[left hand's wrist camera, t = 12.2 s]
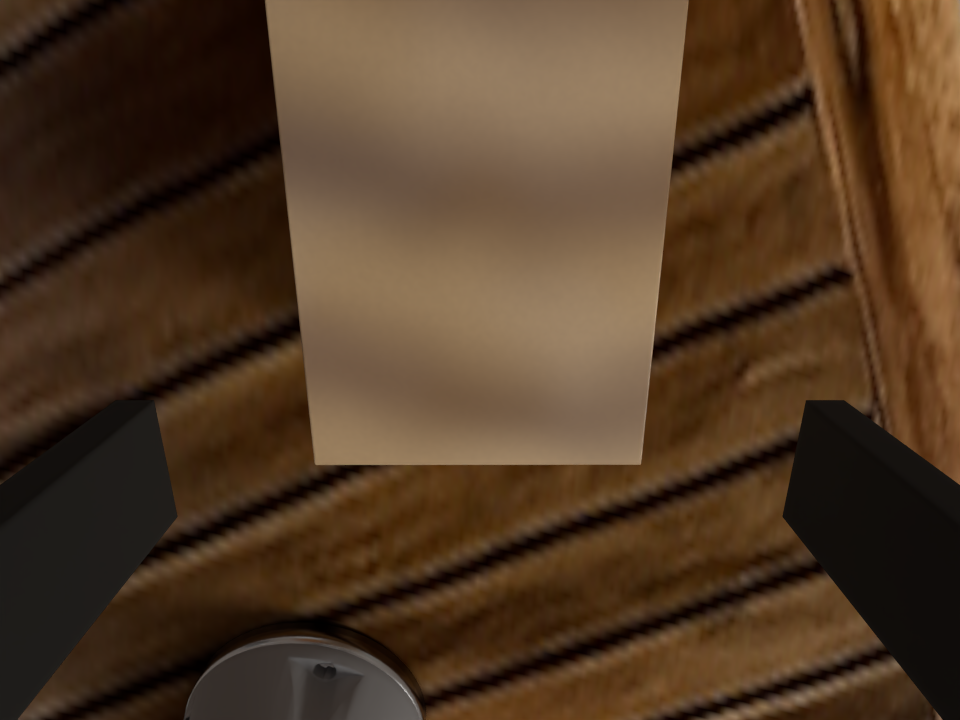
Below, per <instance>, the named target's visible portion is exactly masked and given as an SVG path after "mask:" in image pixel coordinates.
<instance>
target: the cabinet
mask: <svg viewBox="0 0 960 720" xmlns="http://www.w3.org/2000/svg"><path fill="white" fill-rule="evenodd" d="M688 1H689V0H265V6H266V16H267V25H268V34H269V43H270V53H271V62H272V71H273V81H274V90H275V99H276V109H277V118H278V127H279V136H280V146H281V155H282V164H283V174H284V183H285V192H286V201H287V211H288V220H289V229H290V239H291V248H292V257H293V266H294V276H295V285H296V294H297V304H298V313H299V322H300V331H301V341H302V350H303V359H304V369H305V378H306V387H307V396H308V406H309V415H310V424H311V434H312V443H313V452H314V461H315V465H640V464H641V459H642V450H643V440H644V430H645V420H646V411H647V401H648V391H649V381H650V372H651V362H652V352H653V342H654V333H655V323H656V313H657V303H658V294H659V284H660V274H661V264H662V255H663V245H664V235H665V225H666V216H667V206H668V196H669V186H670V177H671V167H672V157H673V147H674V138H675V128H676V118H677V108H678V99H679V89H680V79H681V69H682V60H683V50H684V40H685V30H686V21H687V11H688Z"/></svg>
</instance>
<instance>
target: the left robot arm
mask: <svg viewBox="0 0 960 720" xmlns="http://www.w3.org/2000/svg"><path fill="white" fill-rule="evenodd" d="M176 518H177V512H176V507H175V502H174V497H173V492H172V487H171V482H170V477H169V472H168V467H167V463H166V458H165V453H164V448H163V443H162V438H161V433H160V428H159V423H158V418H157V413H156V408H155V403H154V400H116V401H114V402H113V403H112V404H110V405H109V406H107V407H106V408H105V409H103V410H102V411H101V412H99V413H98V414H97V415H95V416H94V417H92V418H91V419H90V420H88V421H87V422H86V423H84V424H83V425H82V426H80V427H79V428H77V429H76V430H75V431H73V432H72V433H71V434H69V435H68V436H67V437H65V438H64V439H62V440H61V441H60V442H58V443H57V444H56V445H54V446H53V447H52V448H50V449H49V450H47V451H46V452H45V453H43V454H42V455H41V456H39V457H38V458H36V459H35V460H34V461H32V462H31V463H30V464H28V465H27V466H26V467H24V468H23V469H21V470H20V471H19V472H17V473H16V474H15V475H13V476H12V477H11V478H9V479H8V480H6V481H5V482H4V483H2V484H1V485H0V720H18V718H19V717H20V715H21V714H22V713H23V712H24V710H25V709H26V708H27V707H28V705H29V704H30V703H31V701H32V700H33V699H34V698H35V696H36V695H37V694H38V693H39V691H40V690H41V689H42V688H43V686H44V685H45V684H46V682H47V681H48V680H49V679H50V677H51V676H52V675H53V674H54V672H55V671H56V670H57V669H58V667H59V666H60V665H61V663H62V662H63V661H64V660H65V658H66V657H67V656H68V655H69V653H70V652H71V651H72V650H73V648H74V647H75V646H76V644H77V643H78V642H79V641H80V639H81V638H82V637H83V636H84V634H85V633H86V632H87V631H88V629H89V628H90V627H91V625H92V624H93V623H94V622H95V620H96V619H97V618H98V617H99V615H100V614H101V613H102V612H103V610H104V609H105V608H106V606H107V605H108V604H109V603H110V601H111V600H112V599H113V598H114V596H115V595H116V594H117V593H118V591H119V590H120V589H121V587H122V586H123V585H124V584H125V582H126V581H127V580H128V579H129V577H130V576H131V575H132V574H133V572H134V571H135V570H136V569H137V567H138V566H139V565H140V563H141V562H142V561H143V560H144V558H145V557H146V556H147V555H148V553H149V552H150V551H151V550H152V548H153V547H154V546H155V544H156V543H157V542H158V541H159V539H160V538H161V537H162V536H163V534H164V533H165V532H166V531H167V529H168V528H169V527H170V525H171V524H172V523H173V522H174V520H175V519H176ZM783 518H784V519H785V520H786V522H787V523H788V524H789V525H790V527H791V528H792V529H793V531H794V532H795V533H796V534H797V536H798V537H799V538H800V539H801V541H802V542H803V543H804V544H805V546H806V547H807V548H808V550H809V551H810V552H811V553H812V555H813V556H814V557H815V558H816V560H817V561H818V562H819V563H820V565H821V566H822V567H823V569H824V570H825V571H826V572H827V574H828V575H829V576H830V577H831V579H832V580H833V581H834V582H835V584H836V585H837V586H838V587H839V589H840V590H841V591H842V593H843V594H844V595H845V596H846V598H847V599H848V600H849V601H850V603H851V604H852V605H853V606H854V608H855V609H856V610H857V612H858V613H859V614H860V615H861V617H862V618H863V619H864V620H865V622H866V623H867V624H868V625H869V627H870V628H871V629H872V631H873V632H874V633H875V634H876V636H877V637H878V638H879V639H880V641H881V642H882V643H883V644H884V646H885V647H886V648H887V650H888V651H889V652H890V653H891V655H892V656H893V657H894V658H895V660H896V661H897V662H898V663H899V665H900V666H901V667H902V669H903V670H904V671H905V672H906V674H907V675H908V676H909V677H910V679H911V680H912V681H913V682H914V684H915V685H916V686H917V688H918V689H919V690H920V691H921V693H922V694H923V695H924V696H925V698H926V699H927V700H928V701H929V703H930V704H931V705H932V707H933V708H934V709H935V710H936V712H937V713H938V714H939V715H940V717H941V718H942V719H943V720H960V485H959V484H958V483H956V482H955V481H954V480H952V479H951V478H949V477H948V476H947V475H945V474H944V473H943V472H941V471H940V470H939V469H937V468H936V467H934V466H933V465H932V464H930V463H929V462H928V461H926V460H925V459H924V458H922V457H921V456H919V455H918V454H917V453H915V452H914V451H913V450H911V449H910V448H908V447H907V446H906V445H904V444H903V443H902V442H900V441H899V440H898V439H896V438H895V437H893V436H892V435H891V434H889V433H888V432H887V431H885V430H884V429H883V428H881V427H880V426H878V425H877V424H876V423H874V422H873V421H872V420H870V419H869V418H868V417H866V416H865V415H863V414H862V413H861V412H859V411H858V410H857V409H855V408H854V407H853V406H851V405H850V404H848V403H847V402H846V401H844V400H806V403H805V408H804V413H803V418H802V423H801V428H800V433H799V438H798V443H797V448H796V453H795V458H794V463H793V467H792V472H791V477H790V482H789V487H788V492H787V497H786V502H785V507H784V512H783ZM184 720H426V707H425V702H424V697H423V694H422V691H421V689H420V687H419V685H418V683H417V681H416V679H415V678H414V676H413V675H412V673H411V672H410V670H409V669H408V668H407V667H406V666H405V664H404V663H403V662H402V661H401V660H400V659H399V658H398V657H396V656H395V655H394V654H393V653H392V652H390V651H389V650H387V649H386V648H385V647H383V646H382V645H380V644H378V643H377V642H375V641H373V640H371V639H369V638H367V637H365V636H363V635H361V634H358V633H355V632H353V631H350V630H347V629H343V628H340V627H336V626H331V625H326V624H318V623H305V622H295V623H282V624H275V625H270V626H265V627H262V628H258V629H255V630H252V631H250V632H247V633H245V634H243V635H241V636H238V637H236V638H235V639H233V640H232V641H230V642H228V643H227V644H226V645H224V646H223V647H222V648H221V649H219V650H218V651H217V652H216V653H215V654H214V655H213V656H212V658H211V659H210V660H209V661H208V663H207V664H206V666H205V668H204V669H203V671H202V673H201V675H200V677H199V679H198V681H197V683H196V685H195V687H194V689H193V690H192V693H191V695H190V697H189V699H188V703H187V706H186V712H185V716H184Z"/></svg>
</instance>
